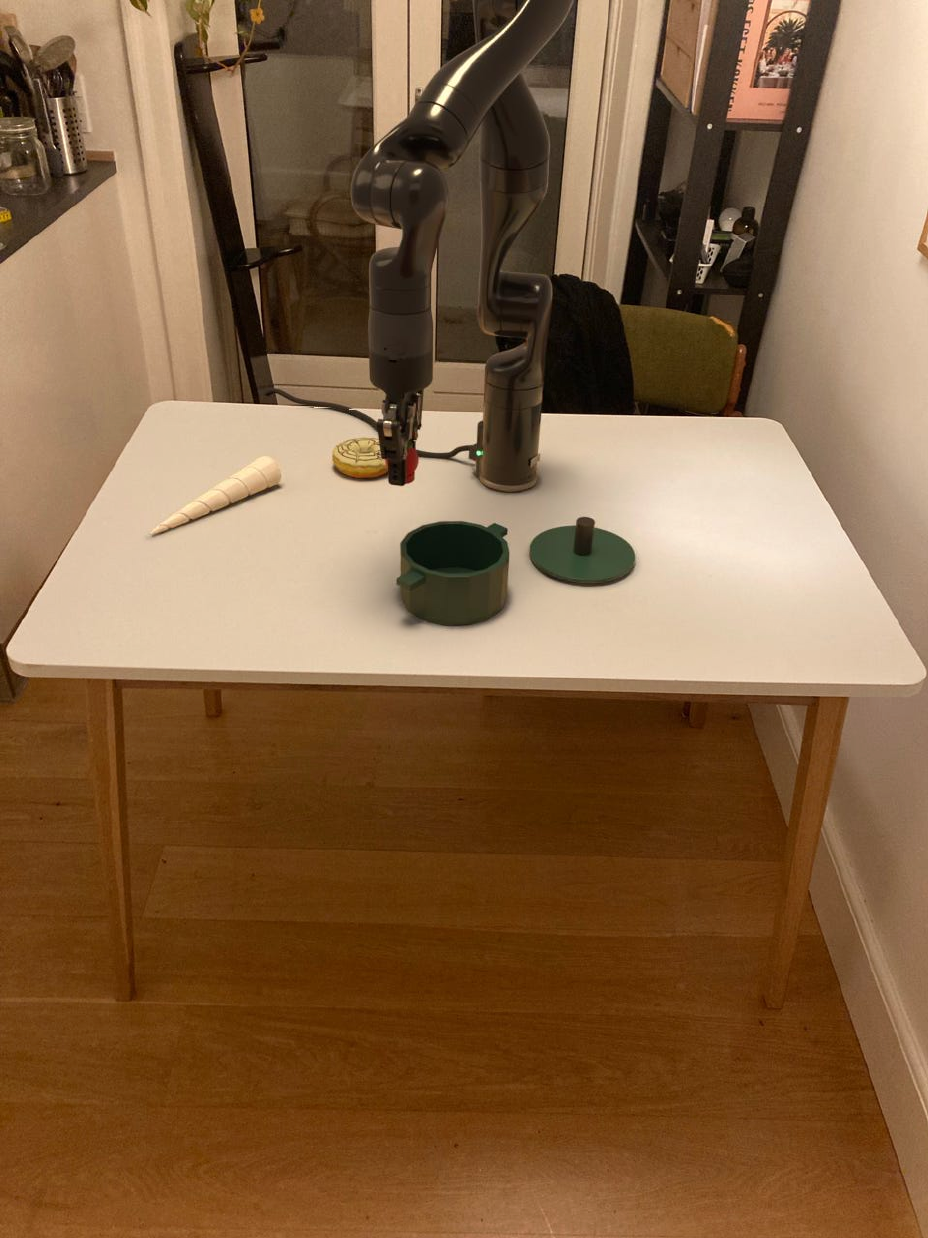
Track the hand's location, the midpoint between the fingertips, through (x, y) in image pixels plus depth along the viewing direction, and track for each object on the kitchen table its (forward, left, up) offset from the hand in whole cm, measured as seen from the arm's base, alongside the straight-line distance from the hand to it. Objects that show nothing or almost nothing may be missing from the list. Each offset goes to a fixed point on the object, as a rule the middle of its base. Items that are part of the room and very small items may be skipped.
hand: (402, 475), depth 124 cm
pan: (+6, +3, -17) cm, 18 cm away
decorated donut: (-30, +22, -17) cm, 41 cm away
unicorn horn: (-36, -3, -17) cm, 40 cm away
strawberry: (0, 0, 0) cm, 0 cm away
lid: (+13, +23, -16) cm, 32 cm away
